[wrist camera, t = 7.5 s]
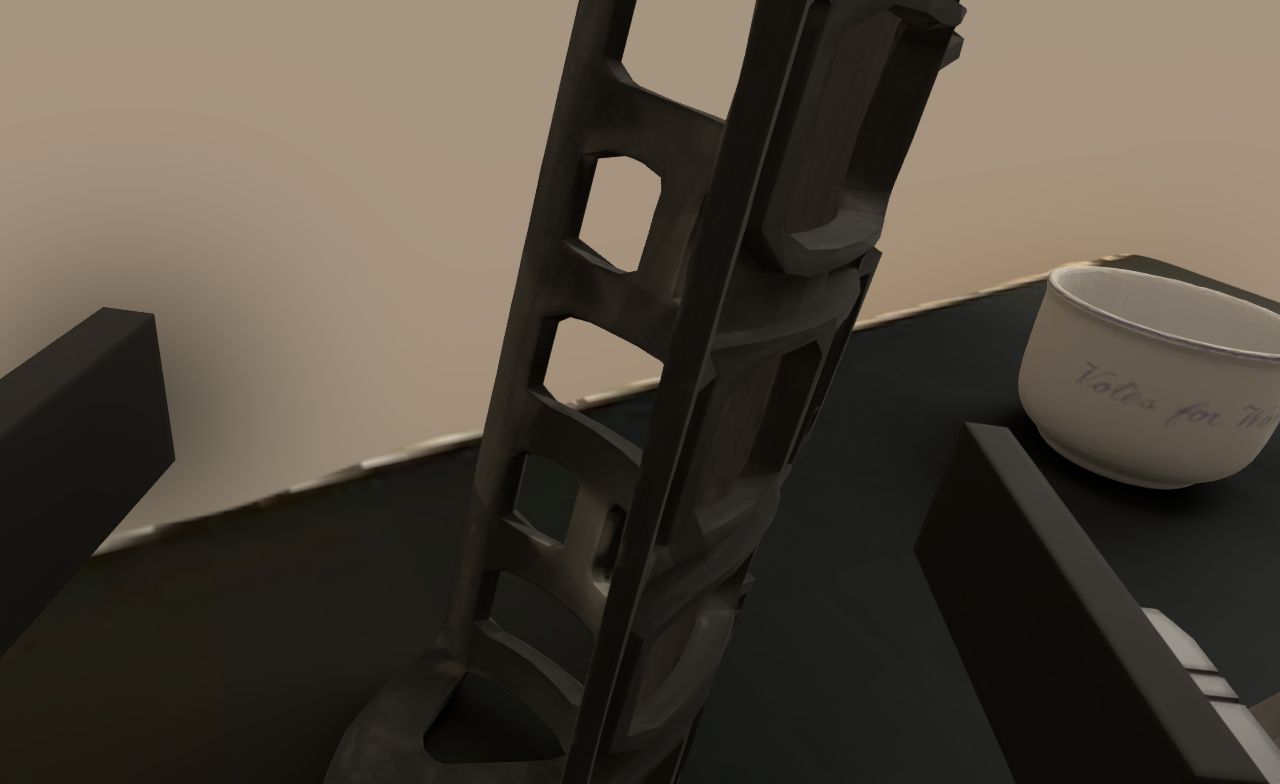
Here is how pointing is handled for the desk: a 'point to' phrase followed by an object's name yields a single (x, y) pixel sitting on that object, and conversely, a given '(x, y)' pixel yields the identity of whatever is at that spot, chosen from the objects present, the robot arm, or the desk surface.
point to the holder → (669, 379)
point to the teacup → (1151, 377)
